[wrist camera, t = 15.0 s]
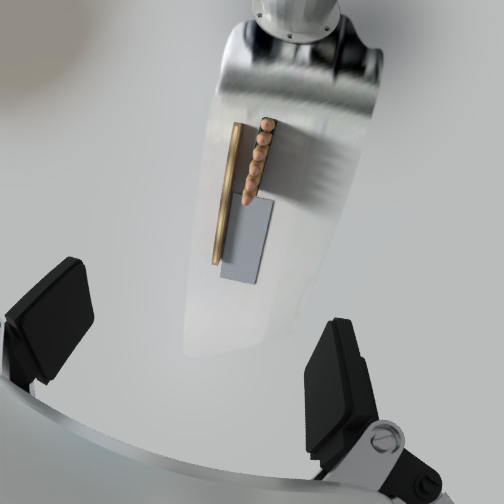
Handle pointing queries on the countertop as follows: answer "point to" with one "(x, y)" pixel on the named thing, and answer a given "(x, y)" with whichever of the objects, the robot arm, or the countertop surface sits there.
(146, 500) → the robot arm
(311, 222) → the countertop surface
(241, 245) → the flat gray rectangular panel
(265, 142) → the ammunition clip
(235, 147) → the straightedge
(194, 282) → the countertop surface
